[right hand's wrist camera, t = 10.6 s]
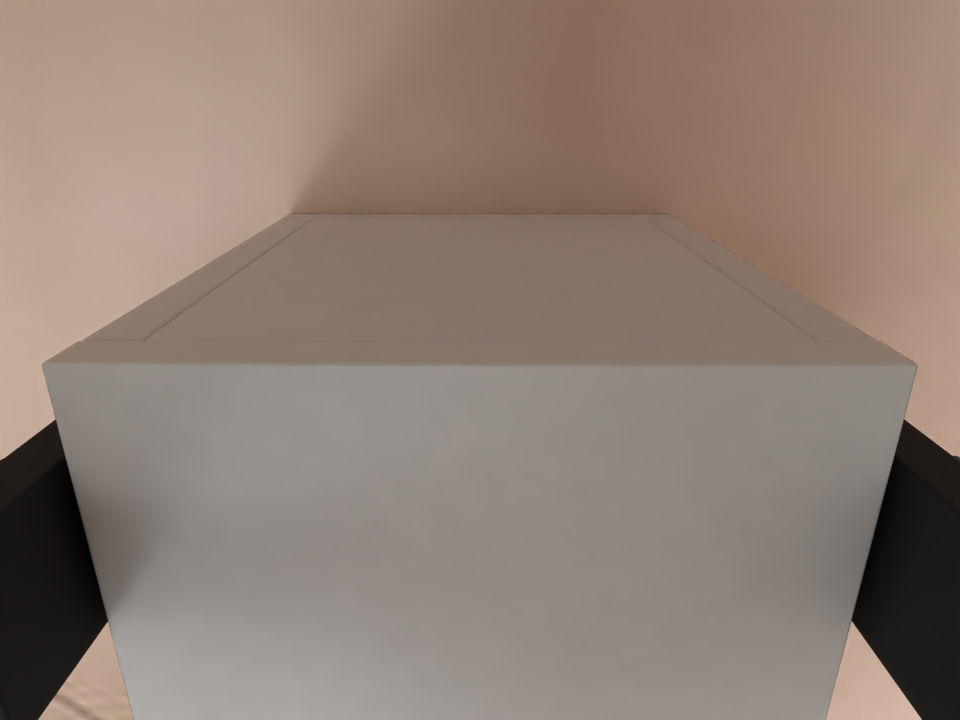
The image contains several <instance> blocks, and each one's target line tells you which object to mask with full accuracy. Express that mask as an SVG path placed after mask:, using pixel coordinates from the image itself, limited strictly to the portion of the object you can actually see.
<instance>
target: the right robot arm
mask: <svg viewBox="0 0 960 720" xmlns="http://www.w3.org/2000/svg"><path fill="white" fill-rule="evenodd" d="M107 622H108V619H107V615H106V611H105V607H104V603H103V599H102V595H101V592H100V588H99V584H98V580H97V576H96V572H95V568H94V565H93V561H92V557H91V553H90V549H89V545H88V541H87V538H86V534H85V530H84V526H83V522H82V518H81V514H80V511H79V507H78V503H77V499H76V495H75V491H74V487H73V484H72V480H71V476H70V472H69V468H68V464H67V460H66V457H65V453H64V449H63V445H62V441H61V437H60V433H59V430H58V426H57V422H56V420H54V421H53V422H52V423H50V424H49V425H48V426H47V427H45V428H44V429H43V430H41V431H40V432H39V433H37V434H36V435H35V436H33V437H32V438H31V439H29V440H28V441H27V442H25V443H24V444H23V445H21V446H20V447H19V448H17V449H16V450H15V451H14V452H12V453H11V454H10V455H8V456H7V457H6V458H4V459H2V460H0V720H38V719H39V717H40V716H41V715H42V713H43V712H44V710H45V709H46V708H47V706H48V705H49V703H50V702H51V701H52V699H53V698H54V696H55V695H56V693H57V692H58V691H59V689H60V688H61V686H62V685H63V684H64V682H65V681H66V679H67V678H68V677H69V675H70V674H71V672H72V671H73V670H74V668H75V667H76V665H77V664H78V663H79V661H80V660H81V658H82V657H83V656H84V654H85V653H86V651H87V650H88V649H89V647H90V646H91V644H92V643H93V641H94V640H95V639H96V637H97V636H98V634H99V633H100V632H101V630H102V629H103V627H104V626H105V625H106V623H107ZM852 622H853V623H854V625H855V626H856V627H857V629H858V630H859V632H860V633H861V634H862V636H863V637H864V639H865V640H866V642H867V643H868V644H869V646H870V647H871V649H872V650H873V651H874V653H875V654H876V656H877V657H878V658H879V660H880V661H881V663H882V664H883V665H884V667H885V668H886V670H887V671H888V672H889V674H890V675H891V677H892V678H893V679H894V681H895V682H896V684H897V685H898V687H899V688H900V689H901V691H902V692H903V694H904V695H905V696H906V698H907V699H908V701H909V702H910V703H911V705H912V706H913V708H914V709H915V710H916V712H917V713H918V715H919V716H920V717H921V719H922V720H960V457H958V456H952V455H950V454H949V453H948V452H946V451H945V450H944V449H942V448H941V447H940V446H939V445H937V444H936V443H935V442H933V441H932V440H931V439H929V438H928V437H927V436H925V435H924V434H923V433H921V432H920V431H919V430H917V429H916V428H915V427H913V426H912V425H911V424H909V423H908V422H907V421H906V420H903V424H902V428H901V432H900V436H899V440H898V444H897V447H896V451H895V455H894V459H893V463H892V467H891V470H890V474H889V478H888V482H887V486H886V490H885V494H884V497H883V501H882V505H881V509H880V513H879V517H878V520H877V524H876V528H875V532H874V536H873V540H872V543H871V547H870V551H869V555H868V559H867V563H866V567H865V570H864V574H863V578H862V582H861V586H860V590H859V593H858V597H857V601H856V605H855V609H854V613H853V617H852Z"/></svg>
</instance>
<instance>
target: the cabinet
mask: <svg viewBox="0 0 960 720" xmlns="http://www.w3.org/2000/svg"><path fill="white" fill-rule="evenodd" d="M42 368H43V372H44V376H45V379H46V383H47V387H48V391H49V395H50V399H51V403H52V406H53V410H54V414H55V418H56V422H57V426H58V430H59V433H60V437H61V441H62V445H63V449H64V453H65V457H66V460H67V464H68V468H69V472H70V476H71V480H72V484H73V487H74V491H75V495H76V499H77V503H78V507H79V511H80V514H81V518H82V522H83V526H84V530H85V534H86V538H87V541H88V545H89V549H90V553H91V557H92V561H93V565H94V568H95V572H96V576H97V580H98V584H99V588H100V592H101V595H102V599H103V603H104V607H105V611H106V615H107V619H108V622H109V626H110V630H111V634H112V638H113V642H114V646H115V649H116V653H117V657H118V661H119V665H120V669H121V673H122V676H123V680H124V684H125V688H126V692H127V696H128V700H129V704H130V707H131V711H132V715H133V719H134V720H826V716H827V713H828V709H829V705H830V701H831V697H832V693H833V690H834V686H835V682H836V678H837V674H838V670H839V666H840V663H841V659H842V655H843V651H844V647H845V643H846V640H847V636H848V632H849V628H850V624H851V620H852V617H853V613H854V609H855V605H856V601H857V597H858V593H859V590H860V586H861V582H862V578H863V574H864V570H865V567H866V563H867V559H868V555H869V551H870V547H871V543H872V540H873V536H874V532H875V528H876V524H877V520H878V517H879V513H880V509H881V505H882V501H883V497H884V494H885V490H886V486H887V482H888V478H889V474H890V470H891V467H892V463H893V459H894V455H895V451H896V447H897V444H898V440H899V436H900V432H901V428H902V424H903V420H904V417H905V413H906V409H907V405H908V401H909V397H910V394H911V390H912V386H913V382H914V378H915V374H916V371H917V363H915V362H914V361H912V360H910V359H909V358H907V357H905V356H904V355H902V354H900V353H899V352H897V351H895V350H894V349H892V348H891V347H889V346H887V345H886V344H884V343H882V342H880V341H876V340H875V339H874V338H872V337H870V336H869V335H867V334H865V333H864V332H862V331H861V330H859V329H857V328H856V327H854V326H852V325H851V324H849V323H847V322H846V321H844V320H842V319H841V318H839V317H838V316H836V315H834V314H833V313H831V312H829V311H828V310H826V309H824V308H823V307H821V306H819V305H818V304H816V303H815V302H813V301H811V300H810V299H808V298H806V297H805V296H803V295H801V294H800V293H798V292H796V291H795V290H793V289H792V288H790V287H788V286H787V285H785V284H783V283H782V282H780V281H778V280H777V279H775V278H773V277H772V276H770V275H769V274H767V273H765V272H764V271H762V270H760V269H759V268H757V267H755V266H754V265H752V264H750V263H749V262H747V261H746V260H744V259H742V258H741V257H739V256H737V255H736V254H734V253H732V252H731V251H729V250H727V249H726V248H724V247H723V246H721V245H719V244H718V243H716V242H714V241H713V240H711V239H709V238H708V237H706V236H704V235H703V234H701V233H699V232H698V231H696V230H695V229H693V228H691V227H690V226H688V225H686V224H685V223H683V222H681V221H680V220H678V219H677V218H675V217H674V216H672V215H670V214H289V215H287V216H286V217H284V218H282V219H281V220H280V221H278V222H276V223H275V224H273V225H271V226H270V227H268V228H266V229H265V230H263V231H261V232H260V233H258V234H256V235H255V236H253V237H252V238H250V239H248V240H247V241H245V242H243V243H242V244H240V245H238V246H237V247H235V248H233V249H232V250H230V251H228V252H227V253H225V254H224V255H222V256H220V257H219V258H217V259H215V260H214V261H212V262H210V263H209V264H207V265H205V266H204V267H202V268H201V269H199V270H197V271H196V272H194V273H192V274H191V275H189V276H187V277H186V278H184V279H182V280H181V281H179V282H177V283H176V284H174V285H173V286H171V287H169V288H168V289H166V290H164V291H163V292H161V293H159V294H158V295H156V296H154V297H153V298H151V299H150V300H148V301H146V302H145V303H143V304H141V305H140V306H138V307H136V308H135V309H133V310H131V311H130V312H128V313H126V314H125V315H123V316H122V317H120V318H118V319H117V320H115V321H113V322H112V323H110V324H108V325H107V326H105V327H103V328H102V329H100V330H98V331H97V332H95V333H94V334H92V335H90V336H89V337H87V338H85V339H84V340H83V341H79V342H77V343H75V344H74V345H72V346H70V347H69V348H67V349H65V350H64V351H62V352H60V353H59V354H57V355H55V356H54V357H52V358H50V359H49V360H47V361H45V362H44V363H43V364H42Z"/></svg>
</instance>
